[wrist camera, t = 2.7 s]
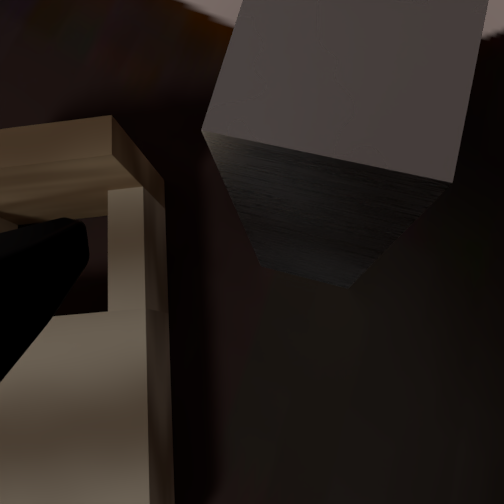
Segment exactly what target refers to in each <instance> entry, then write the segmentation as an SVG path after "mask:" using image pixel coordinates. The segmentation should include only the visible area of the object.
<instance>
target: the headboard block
mask: <svg viewBox="0 0 504 504" xmlns="http://www.w3.org/2000/svg"><path fill="white" fill-rule="evenodd" d="M98 216H108V312H97V313H86V314H74V315H63V316H53V317H52V319H51V320H50V321H49V323H48V324H47V325H46V327H45V328H44V329H43V330H42V332H41V333H40V334H39V335H38V337H37V338H36V339H35V340H34V342H33V343H32V344H31V345H30V347H29V348H28V349H27V350H26V351H25V353H24V354H23V355H22V356H21V358H20V359H19V360H18V361H17V363H16V364H15V365H14V366H13V368H12V369H11V370H10V371H9V372H8V374H7V375H6V376H5V377H4V379H3V380H2V381H1V382H0V504H175V497H174V467H173V436H172V405H171V375H170V344H169V314H168V283H167V252H166V222H165V191H164V179H163V178H162V177H161V176H160V174H159V173H158V172H157V171H156V170H155V168H154V167H153V166H152V165H151V163H150V162H149V161H148V160H147V158H146V157H145V156H144V155H143V153H142V152H141V151H140V150H139V148H138V147H137V146H136V145H135V143H134V142H133V141H132V140H131V138H130V137H129V136H128V135H127V133H126V132H125V131H124V130H123V129H122V127H121V126H120V125H119V124H118V122H117V121H116V120H115V119H114V117H113V116H112V115H108V116H100V117H93V118H85V119H77V120H69V121H61V122H53V123H46V124H38V125H30V126H22V127H14V128H7V129H0V233H2V232H6V231H10V230H14V229H18V225H24V224H33V223H42V222H46V221H50V220H54V219H58V218H62V217H67V218H71V219H80V218H89V217H98Z"/></svg>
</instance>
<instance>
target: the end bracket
mask: <svg viewBox="0 0 504 504" xmlns="http://www.w3.org/2000/svg"><path fill="white" fill-rule="evenodd" d="M487 5H488V0H243V2H242V5H241V8H240V12H239V14H238V17H237V21H236V24H235V27H234V30H233V33H232V36H231V39H230V42H229V45H228V48H227V51H226V55H225V58H224V61H223V64H222V67H221V70H220V73H219V76H218V79H217V82H216V86H215V89H214V92H213V95H212V98H211V101H210V104H209V107H208V110H207V113H206V117H205V120H204V123H203V126H202V129H201V131H202V133H203V136H204V138H205V140H206V142H207V145H208V147H209V149H210V151H211V154H212V156H213V158H214V161H215V163H216V165H217V167H218V170H219V172H220V174H221V176H222V179H223V181H224V183H225V185H226V188H227V190H228V192H229V194H230V197H231V199H232V201H233V204H234V206H235V208H236V210H237V213H238V215H239V217H240V219H241V222H242V224H243V226H244V228H245V231H246V233H247V235H248V238H249V240H250V242H251V244H252V247H253V249H254V251H255V253H256V256H257V258H258V260H259V262H260V265H261V266H263V267H267V268H270V269H274V270H278V271H282V272H286V273H290V274H294V275H298V276H302V277H306V278H309V279H313V280H317V281H321V282H325V283H329V284H333V285H337V286H341V287H345V288H349V287H350V286H351V285H352V284H353V283H354V282H355V281H356V280H357V279H358V278H359V277H360V276H361V275H362V274H363V273H364V272H365V271H366V270H367V269H368V268H369V267H370V266H371V265H372V264H373V263H374V262H375V261H376V260H377V259H378V258H379V257H380V256H381V255H382V254H383V253H384V252H385V251H386V250H387V249H388V248H389V247H390V245H391V244H392V243H393V242H394V241H395V240H396V239H397V238H398V237H399V236H400V235H401V234H402V233H403V232H404V231H405V230H406V229H407V228H408V227H409V226H410V225H411V224H412V223H413V222H414V221H415V220H416V219H417V218H418V217H419V216H420V215H421V214H422V213H423V212H424V211H425V210H426V209H427V208H428V207H429V206H430V205H431V204H432V203H433V202H434V201H435V200H436V199H437V198H438V197H439V196H440V195H441V194H442V193H443V192H444V191H445V190H446V189H447V188H448V187H449V186H450V185H451V184H452V183H453V178H454V173H455V168H456V163H457V158H458V153H459V148H460V143H461V137H462V132H463V127H464V122H465V117H466V112H467V107H468V102H469V97H470V92H471V87H472V82H473V76H474V71H475V66H476V61H477V56H478V51H479V46H480V41H481V36H482V31H483V25H484V20H485V15H486V10H487Z"/></svg>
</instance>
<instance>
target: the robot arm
mask: <svg viewBox="0 0 504 504" xmlns="http://www.w3.org/2000/svg"><path fill="white" fill-rule="evenodd" d="M88 260H89V247H88V239H87V232H86V226H85V224H84V223H83V222H82V221H79V220H75V219H71V218H67V217H62V218H58V219H54V220H50V221H46V222H42V223H38V224H34V225H30V226H26V227H22V228H18V229H14V230H10V231H6V232H2V233H0V382H1V381H2V380H3V379H4V377H5V376H6V375H7V374H8V372H9V371H10V370H11V369H12V368H13V366H14V365H15V364H16V363H17V361H18V360H19V359H20V358H21V356H22V355H23V354H24V353H25V351H26V350H27V349H28V348H29V347H30V345H31V344H32V343H33V342H34V340H35V339H36V338H37V337H38V335H39V334H40V333H41V332H42V330H43V329H44V328H45V327H46V325H47V324H48V323H49V321H50V320H51V319H52V317H53V316H54V314H55V313H56V311H57V310H58V308H59V307H60V305H61V304H62V302H63V301H64V299H65V297H66V296H67V294H68V293H69V291H70V290H71V288H72V287H73V285H74V284H75V282H76V280H77V279H78V277H79V276H80V274H81V273H82V271H83V270H84V268H85V267H86V265H87V263H88Z"/></svg>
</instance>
